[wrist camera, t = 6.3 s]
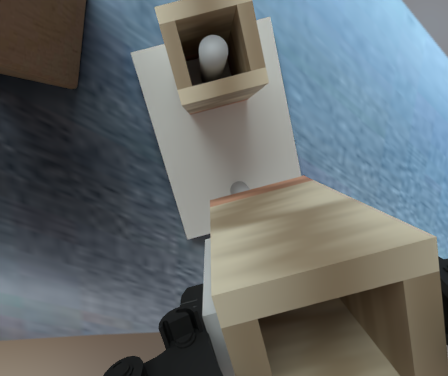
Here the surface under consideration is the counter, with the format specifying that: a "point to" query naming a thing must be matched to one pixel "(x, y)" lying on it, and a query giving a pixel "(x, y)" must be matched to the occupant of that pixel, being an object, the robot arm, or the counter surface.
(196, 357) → the robot arm
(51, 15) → the wooden block
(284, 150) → the pin board
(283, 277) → the sleeve
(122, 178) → the counter surface
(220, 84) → the sleeve seated
